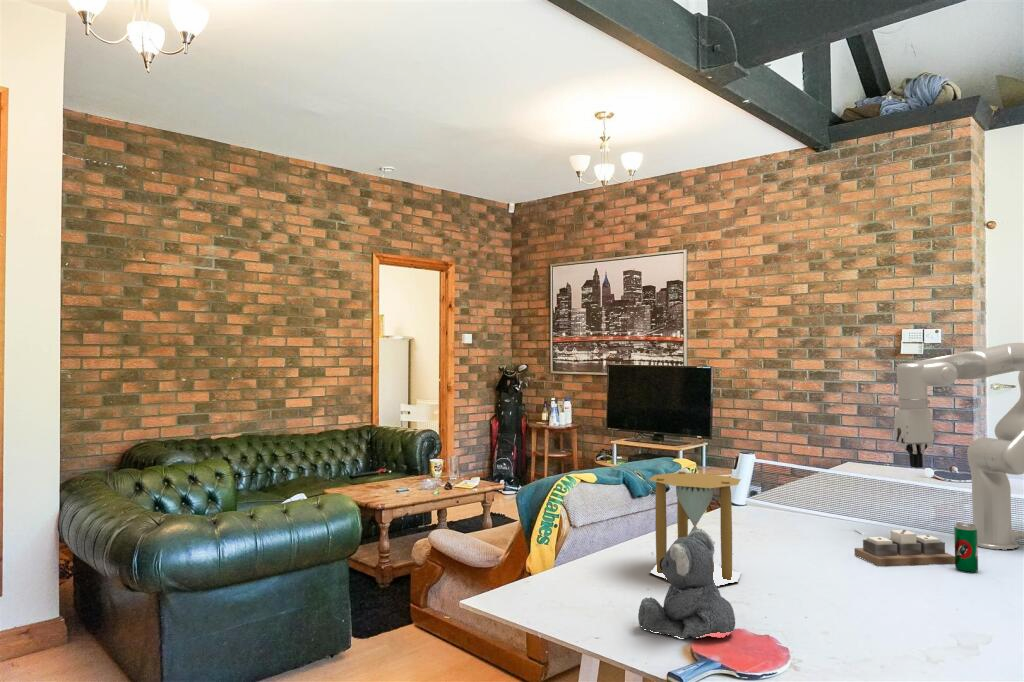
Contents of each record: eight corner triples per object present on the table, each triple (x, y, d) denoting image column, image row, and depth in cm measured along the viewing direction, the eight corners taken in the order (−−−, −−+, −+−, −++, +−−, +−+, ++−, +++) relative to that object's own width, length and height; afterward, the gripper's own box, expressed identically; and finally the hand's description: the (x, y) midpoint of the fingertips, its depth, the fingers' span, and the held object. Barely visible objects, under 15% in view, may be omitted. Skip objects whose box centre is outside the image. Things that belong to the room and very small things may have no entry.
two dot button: (929, 547, 195) (928, 534, 195) (940, 552, 191) (940, 538, 191) (914, 548, 195) (914, 535, 195) (925, 552, 191) (925, 539, 191)
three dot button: (905, 542, 195) (905, 529, 195) (916, 546, 190) (916, 533, 190) (891, 543, 194) (890, 529, 194) (901, 547, 190) (901, 533, 190)
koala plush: (671, 607, 156) (670, 519, 156) (750, 626, 144) (749, 531, 145) (632, 630, 142) (631, 534, 143) (716, 653, 131) (715, 549, 132)
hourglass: (632, 574, 180) (631, 477, 180) (676, 556, 196) (675, 467, 197) (717, 595, 164) (716, 488, 164) (757, 573, 180) (756, 477, 181)
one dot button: (882, 549, 194) (882, 536, 194) (892, 553, 190) (892, 540, 190) (867, 549, 193) (867, 536, 194) (877, 554, 189) (877, 540, 189)
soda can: (981, 573, 179) (980, 526, 179) (960, 572, 180) (959, 526, 180) (973, 568, 184) (971, 522, 184) (951, 567, 185) (950, 521, 185)
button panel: (927, 552, 199) (926, 535, 199) (955, 563, 188) (955, 545, 188) (854, 555, 196) (854, 537, 197) (879, 566, 186) (878, 547, 186)
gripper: (926, 402, 210) (929, 463, 209) (881, 405, 207) (884, 466, 207) (945, 404, 202) (948, 467, 202) (899, 406, 200) (902, 470, 200)
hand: (916, 467), depth 204 cm, fingers closed
